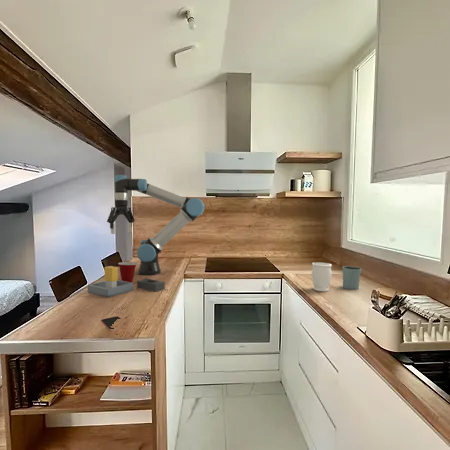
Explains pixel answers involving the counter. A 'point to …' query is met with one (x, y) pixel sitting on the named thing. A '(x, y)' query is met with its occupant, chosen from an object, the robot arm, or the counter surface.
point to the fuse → (111, 276)
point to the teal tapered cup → (351, 277)
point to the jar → (321, 276)
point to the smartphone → (110, 321)
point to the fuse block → (151, 285)
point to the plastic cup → (127, 271)
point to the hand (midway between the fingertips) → (121, 233)
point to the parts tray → (103, 291)
